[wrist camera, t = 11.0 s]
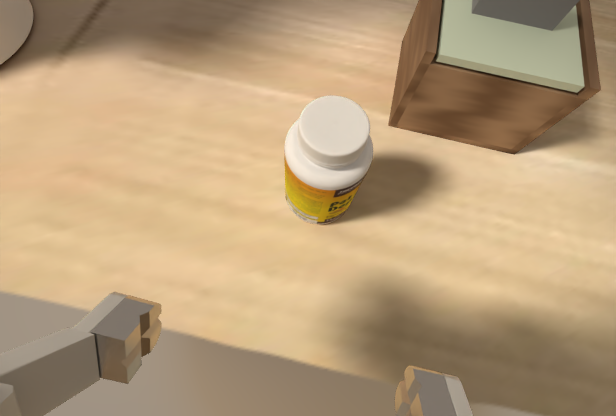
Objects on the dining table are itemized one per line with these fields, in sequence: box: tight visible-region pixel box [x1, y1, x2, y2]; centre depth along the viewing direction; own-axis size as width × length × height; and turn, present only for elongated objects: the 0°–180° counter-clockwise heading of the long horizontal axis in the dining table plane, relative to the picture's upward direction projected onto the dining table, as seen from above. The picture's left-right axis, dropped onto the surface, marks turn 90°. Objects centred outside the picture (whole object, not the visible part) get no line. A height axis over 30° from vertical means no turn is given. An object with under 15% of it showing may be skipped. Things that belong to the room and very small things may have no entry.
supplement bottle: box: [284, 95, 373, 224], centre depth 22 cm, size 6×6×10 cm
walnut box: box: [388, 0, 601, 154], centre depth 27 cm, size 12×11×9 cm
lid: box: [436, 0, 585, 93], centre depth 22 cm, size 10×11×3 cm
